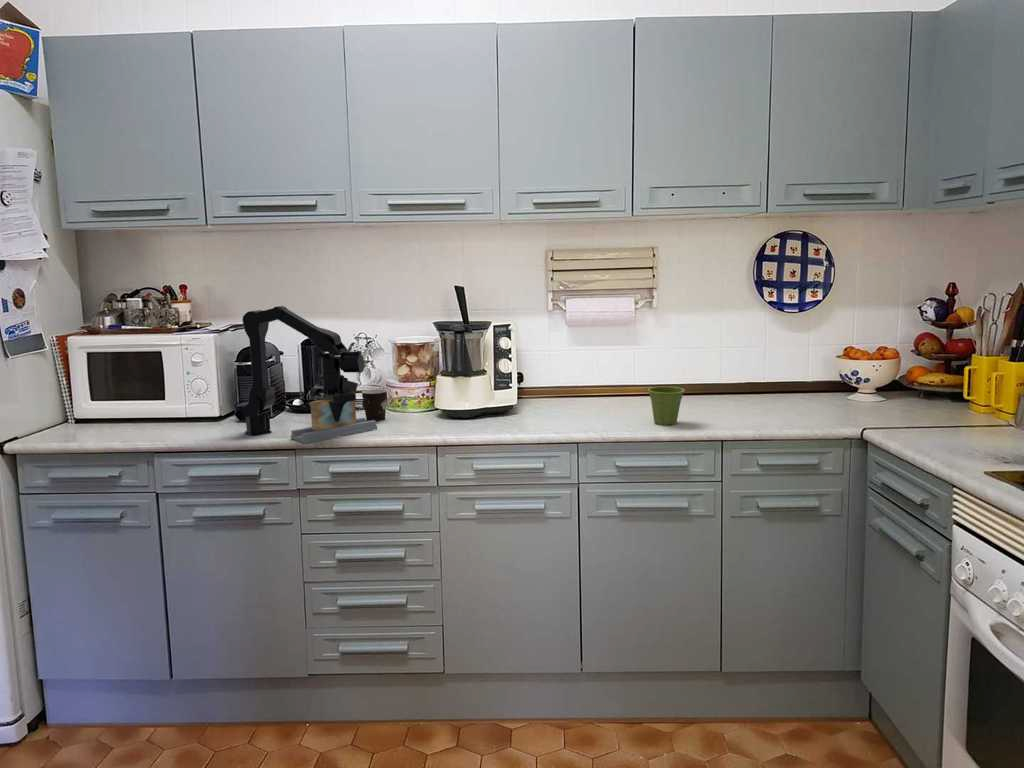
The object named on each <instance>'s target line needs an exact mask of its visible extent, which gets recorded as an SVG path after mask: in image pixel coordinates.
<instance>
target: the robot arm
mask: <svg viewBox="0 0 1024 768" xmlns="http://www.w3.org/2000/svg"><path fill="white" fill-rule="evenodd" d="M277 320H278V321H279V322H281V323H283V324H285V325H286V326H288V327H290V328H292V329H293V330H294V331H297V332H298V333H299V334H301V335H303V336H305V337H307V339H309V340H310V342H312V344H313V345H315V347H317V348H318V349H319V350H320V351H318V352H317V353H316V355H314V357H313V359H315V360H317V359H319V360H320V362H321V375H319V380H321V381H322V385H321V386H315V387H314V386H313V387H311V389H309V395H310V397H312V398H316V397H318V398H316V401H319V400H325V399H331V398H333V400H334V401H330V402H329V404H330V407H331V410H332V413H333V416H334V419H335V421H336V422H339V420H340V416H341V413H342V409H343V406H344V405H345V404H346V403H347V402H349V401H355V402H356V401H357V394H356V393H357V390H358V386H359V383H358V382H355V381H351V380H349V379H348V377H345V375H343V374H341V371H342V372H343V373H358V374H359V373H363V372H364V371H365V365H366V364H365V362H366V361H365V359H364V355H363V354H362V351H361V350H355V351H350V350H348V347H346V345H345V344H344V343H343V341H342V339H341V336H340V334H338V333H337V332H334V331H332V330H330V329H327V328H323V327H319V326H317V325H316V324H314V323H312V322H310V321H309V320H306V319H305V318H303V317H302V316H300V315H298V314H296V313H295V312H293V311H291V310H290V309H288V308H287V307H286V306H283V305H279V306H274V307H273V308H269V309H266V310H262V309H257V310H250V311H247V312H246V313H245V314H244V315H243V316H242V325H243V328H244V332H245V334H246V336H247V337H248V339H249V351H250V367H251V378H252V380H251V381H252V383H251V387H250V389H249V393H248V401H247V404H246V405H245V406H244V407H243V408H242V410H241V413H242V416H243V418H245V425H246V427H245V428H246V430H245V431H244V433H245V434H247V435H250V436H259V435H263V434H264V435H265V434H270V433H272V430H271V423H270V422H271V421H270V419H271V418H270V417H269V414H268V413H269V412H270V411H271V408H272V406H273V405H274V404H275V400H276V399H277V396H276V387H275V386H271V385H270V383H269V379H268V367H267V366H268V364H267V350H266V337H267V334H268V331H269V325H270V323H271V322H275V321H277Z"/></svg>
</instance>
